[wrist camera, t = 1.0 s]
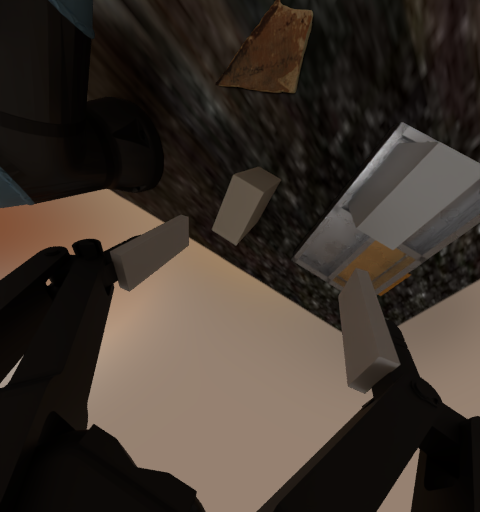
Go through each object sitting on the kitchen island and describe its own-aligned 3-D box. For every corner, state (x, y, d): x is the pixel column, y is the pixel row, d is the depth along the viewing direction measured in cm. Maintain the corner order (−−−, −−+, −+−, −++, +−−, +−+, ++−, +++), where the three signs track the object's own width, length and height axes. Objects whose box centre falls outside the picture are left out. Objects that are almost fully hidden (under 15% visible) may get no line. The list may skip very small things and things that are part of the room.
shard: (220, 87, 27) (214, 84, 25) (226, 3, 23) (219, -6, 21) (295, 97, 24) (293, 94, 23) (318, 6, 20) (317, -5, 19)
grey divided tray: (293, 251, 34) (291, 259, 31) (393, 124, 22) (402, 122, 19) (363, 294, 33) (366, 306, 30) (508, 186, 21) (532, 192, 18)
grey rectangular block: (347, 203, 27) (356, 228, 19) (398, 143, 22) (439, 141, 14) (372, 218, 26) (393, 250, 18) (429, 160, 22) (491, 169, 14)
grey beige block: (238, 210, 34) (211, 230, 26) (259, 166, 29) (233, 174, 21) (257, 221, 34) (236, 245, 26) (281, 179, 29) (263, 192, 21)
